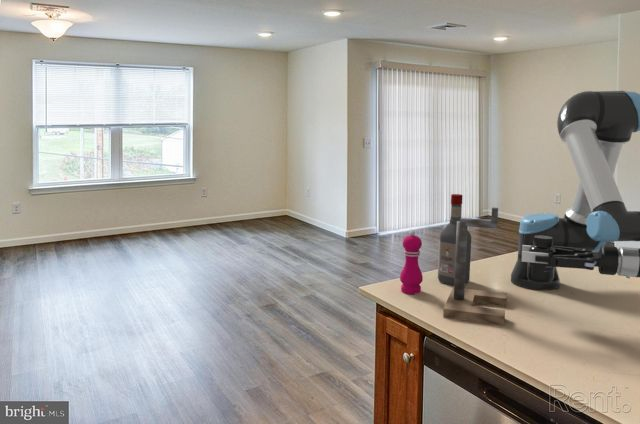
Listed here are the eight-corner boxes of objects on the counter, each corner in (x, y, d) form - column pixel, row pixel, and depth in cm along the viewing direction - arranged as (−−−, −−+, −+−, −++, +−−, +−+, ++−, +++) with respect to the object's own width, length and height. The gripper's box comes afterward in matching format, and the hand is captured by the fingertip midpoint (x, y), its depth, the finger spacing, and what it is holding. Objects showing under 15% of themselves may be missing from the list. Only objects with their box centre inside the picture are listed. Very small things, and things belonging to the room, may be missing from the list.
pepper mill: (422, 295, 158) (424, 233, 155) (399, 294, 159) (400, 232, 156) (422, 288, 165) (424, 228, 162) (400, 287, 166) (401, 228, 163)
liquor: (458, 287, 166) (461, 197, 161) (434, 281, 172) (437, 194, 167) (472, 281, 172) (476, 194, 167) (448, 275, 179) (452, 192, 173)
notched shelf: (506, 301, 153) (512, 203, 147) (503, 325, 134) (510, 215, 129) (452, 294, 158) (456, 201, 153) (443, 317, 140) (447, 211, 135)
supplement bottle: (551, 284, 134) (555, 241, 132) (524, 280, 137) (527, 238, 135) (555, 278, 139) (558, 236, 137) (529, 274, 143) (531, 233, 141)
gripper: (622, 286, 122) (520, 275, 131) (609, 265, 140) (521, 257, 149) (625, 256, 121) (522, 247, 129) (612, 239, 139) (523, 232, 147)
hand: (522, 253), depth 139 cm, fingers closed on supplement bottle, 7 cm apart
